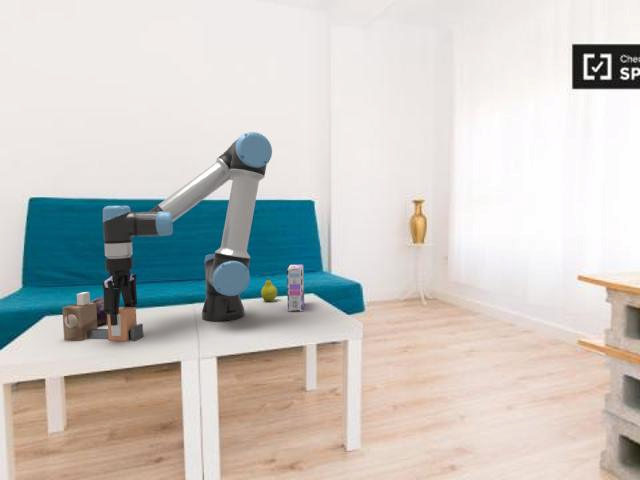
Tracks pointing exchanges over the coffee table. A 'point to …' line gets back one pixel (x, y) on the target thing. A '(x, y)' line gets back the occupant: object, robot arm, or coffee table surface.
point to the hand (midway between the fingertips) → (122, 332)
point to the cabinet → (79, 320)
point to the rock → (100, 310)
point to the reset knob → (83, 298)
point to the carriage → (123, 323)
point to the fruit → (268, 291)
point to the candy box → (295, 287)
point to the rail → (93, 333)
